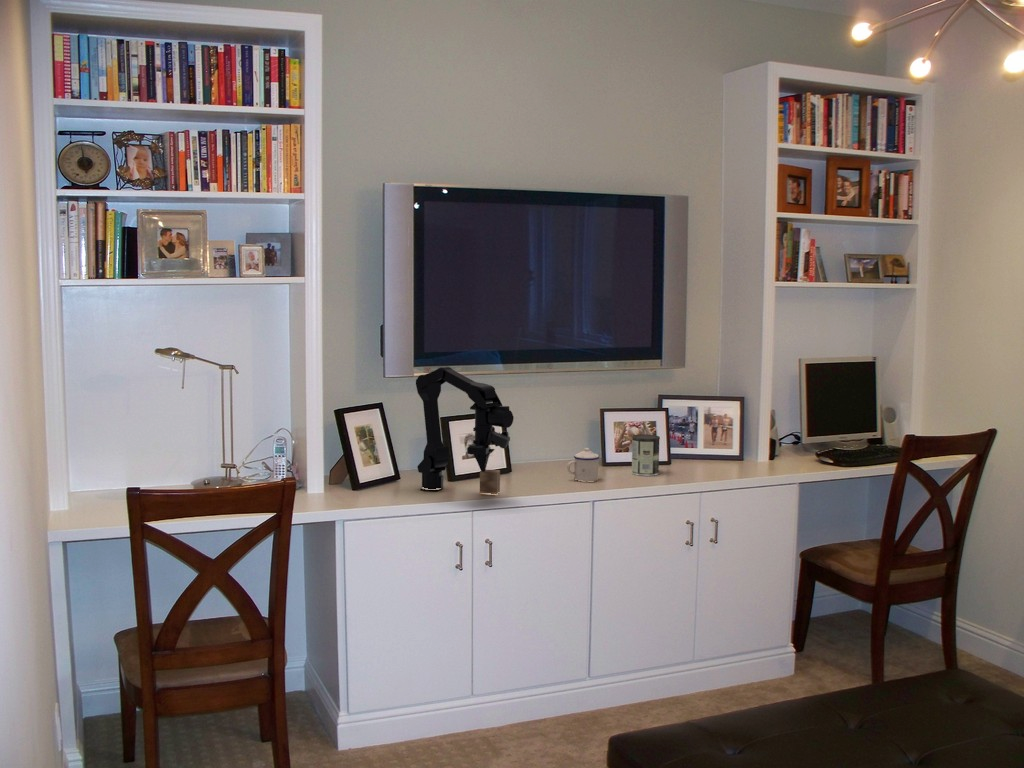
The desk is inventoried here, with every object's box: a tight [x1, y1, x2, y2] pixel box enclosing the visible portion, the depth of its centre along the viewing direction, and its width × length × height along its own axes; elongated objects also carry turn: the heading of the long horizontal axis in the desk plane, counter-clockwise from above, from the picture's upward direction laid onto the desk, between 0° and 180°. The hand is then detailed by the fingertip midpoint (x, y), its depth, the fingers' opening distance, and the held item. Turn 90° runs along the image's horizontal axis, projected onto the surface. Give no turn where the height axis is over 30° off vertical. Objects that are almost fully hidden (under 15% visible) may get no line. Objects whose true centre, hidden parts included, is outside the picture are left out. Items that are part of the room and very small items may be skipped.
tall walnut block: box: [479, 468, 501, 494], centre depth 311 cm, size 6×4×8 cm, turn 77°
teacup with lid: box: [566, 447, 600, 482], centre depth 334 cm, size 12×9×12 cm
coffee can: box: [631, 433, 661, 477], centre depth 347 cm, size 10×10×14 cm
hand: (483, 471), depth 303 cm, fingers closed
